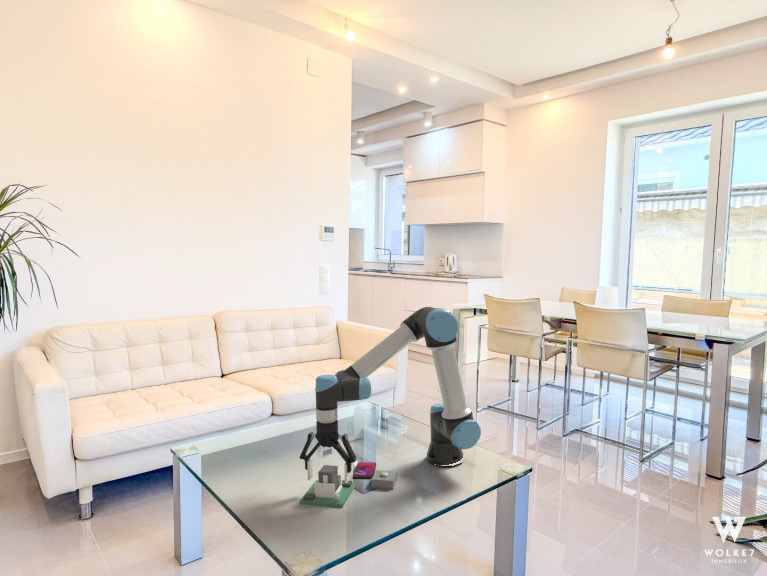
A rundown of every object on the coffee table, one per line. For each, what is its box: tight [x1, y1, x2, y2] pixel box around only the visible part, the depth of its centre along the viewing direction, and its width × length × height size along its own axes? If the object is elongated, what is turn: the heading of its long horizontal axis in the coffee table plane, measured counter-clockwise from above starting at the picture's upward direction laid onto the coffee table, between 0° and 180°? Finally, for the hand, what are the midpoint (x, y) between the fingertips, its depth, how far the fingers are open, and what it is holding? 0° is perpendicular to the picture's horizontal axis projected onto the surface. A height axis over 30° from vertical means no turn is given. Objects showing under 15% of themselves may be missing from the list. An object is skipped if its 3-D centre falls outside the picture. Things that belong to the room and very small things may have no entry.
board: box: [299, 473, 356, 508], centre depth 169 cm, size 15×16×6 cm
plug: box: [317, 464, 339, 492], centre depth 169 cm, size 5×6×8 cm
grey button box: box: [370, 469, 398, 490], centre depth 177 cm, size 8×8×4 cm
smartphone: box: [352, 461, 377, 480], centre depth 189 cm, size 8×1×15 cm
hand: (328, 480), depth 169 cm, fingers open, 13 cm apart
